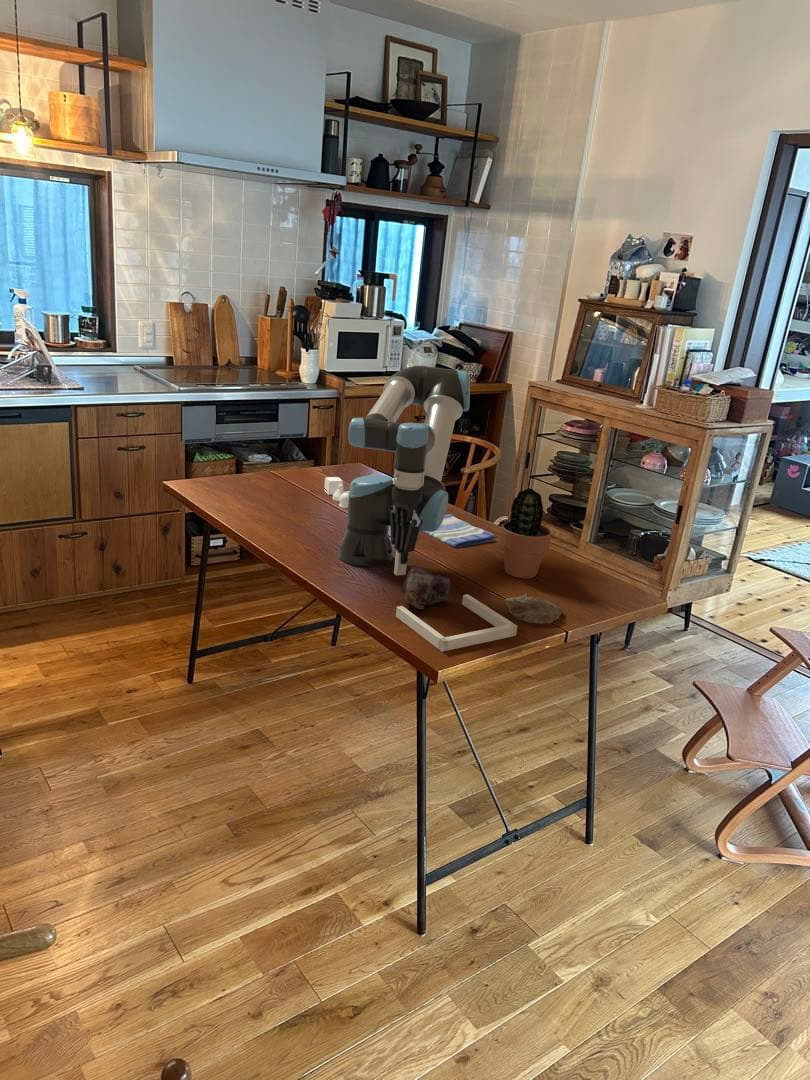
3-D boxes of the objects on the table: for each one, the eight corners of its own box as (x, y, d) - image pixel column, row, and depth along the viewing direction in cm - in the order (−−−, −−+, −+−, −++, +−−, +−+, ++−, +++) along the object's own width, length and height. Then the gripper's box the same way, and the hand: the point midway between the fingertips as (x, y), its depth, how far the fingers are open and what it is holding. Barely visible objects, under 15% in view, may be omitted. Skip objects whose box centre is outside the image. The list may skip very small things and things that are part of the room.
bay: (395, 616, 194) (396, 606, 194) (466, 603, 205) (467, 594, 204) (441, 651, 179) (443, 641, 178) (515, 635, 190) (517, 625, 189)
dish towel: (450, 520, 271) (451, 512, 270) (496, 542, 253) (497, 534, 252) (407, 526, 261) (408, 517, 261) (453, 550, 244) (454, 541, 243)
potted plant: (554, 575, 229) (568, 490, 221) (524, 585, 220) (538, 497, 212) (516, 560, 238) (528, 477, 230) (486, 569, 229) (497, 484, 221)
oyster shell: (567, 626, 198) (571, 604, 196) (508, 622, 197) (511, 600, 195) (557, 607, 209) (561, 586, 207) (501, 603, 208) (504, 582, 206)
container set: (323, 492, 288) (324, 477, 286) (337, 491, 290) (338, 476, 289) (342, 509, 271) (343, 493, 269) (356, 508, 273) (357, 493, 271)
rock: (450, 611, 203) (425, 594, 211) (459, 578, 201) (434, 562, 209) (411, 612, 196) (387, 595, 204) (420, 578, 193) (395, 561, 201)
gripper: (381, 480, 206) (374, 566, 214) (409, 494, 196) (400, 585, 204) (406, 478, 210) (399, 563, 218) (434, 492, 200) (425, 581, 208)
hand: (399, 573), depth 211 cm, fingers closed
